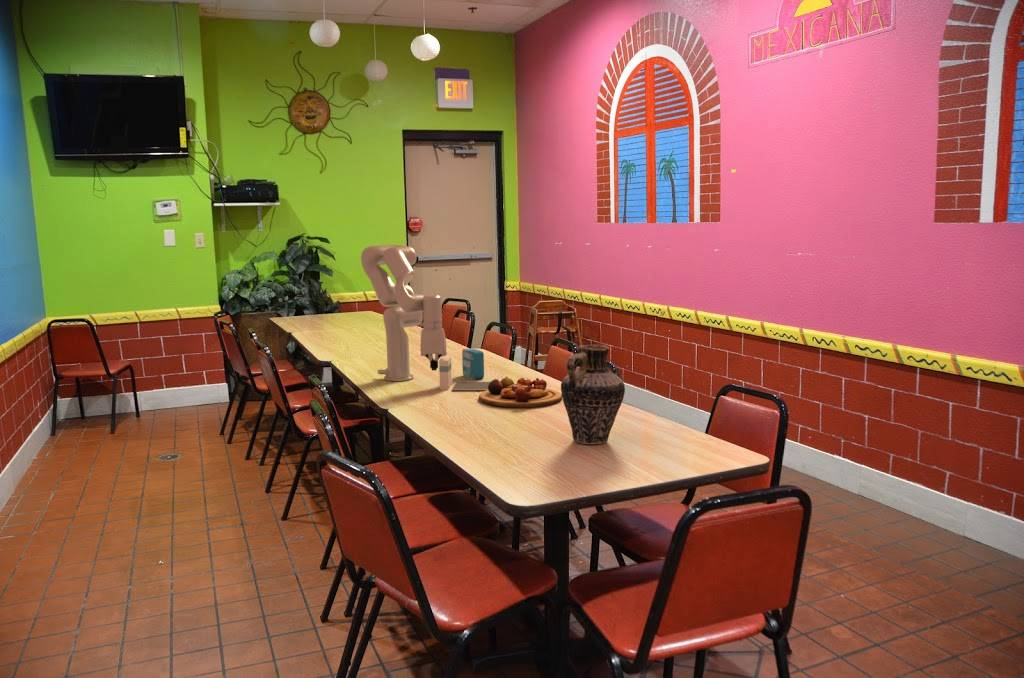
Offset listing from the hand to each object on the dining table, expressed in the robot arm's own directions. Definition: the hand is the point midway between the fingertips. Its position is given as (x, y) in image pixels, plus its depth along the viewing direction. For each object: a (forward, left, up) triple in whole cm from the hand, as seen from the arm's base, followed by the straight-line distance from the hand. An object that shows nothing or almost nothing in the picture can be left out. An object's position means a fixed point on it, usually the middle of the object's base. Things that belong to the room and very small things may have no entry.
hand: (434, 369), depth 332 cm
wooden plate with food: (+36, -21, -8) cm, 43 cm away
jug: (+62, -80, -8) cm, 101 cm away
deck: (+5, 0, -7) cm, 9 cm away
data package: (+14, +21, -8) cm, 26 cm away
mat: (+18, 0, -7) cm, 19 cm away
